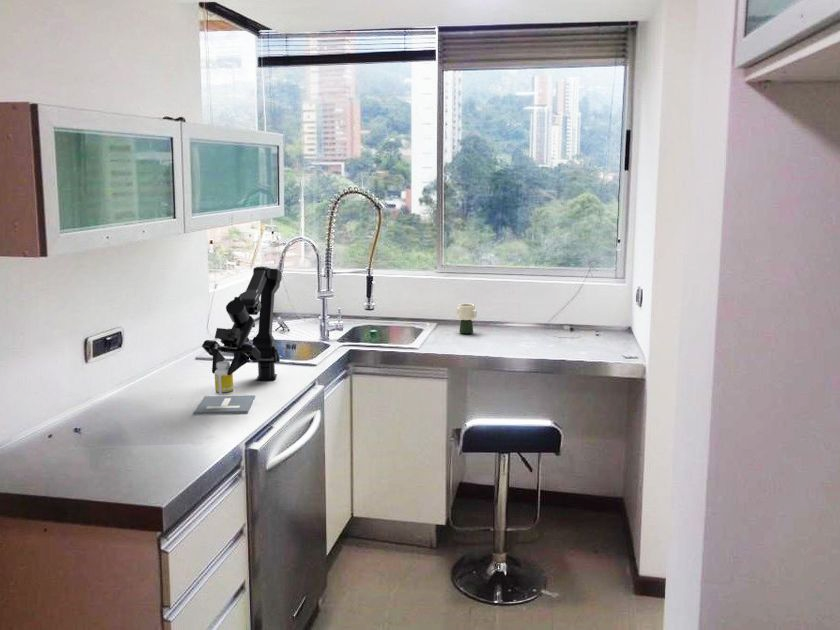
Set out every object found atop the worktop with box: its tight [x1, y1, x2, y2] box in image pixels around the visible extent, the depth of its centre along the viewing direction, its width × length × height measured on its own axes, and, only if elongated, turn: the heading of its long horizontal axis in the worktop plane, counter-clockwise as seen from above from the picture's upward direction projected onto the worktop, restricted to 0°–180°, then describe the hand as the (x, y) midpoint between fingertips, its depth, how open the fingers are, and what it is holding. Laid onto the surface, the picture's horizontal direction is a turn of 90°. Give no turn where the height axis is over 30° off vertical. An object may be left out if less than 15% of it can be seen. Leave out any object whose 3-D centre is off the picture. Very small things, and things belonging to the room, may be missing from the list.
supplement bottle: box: [214, 360, 234, 396], centre depth 238 cm, size 5×5×10 cm
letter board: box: [193, 394, 256, 415], centre depth 240 cm, size 16×16×1 cm
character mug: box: [456, 303, 478, 335], centre depth 342 cm, size 11×7×13 cm, turn 49°
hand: (220, 373), depth 236 cm, fingers closed on supplement bottle, 5 cm apart
